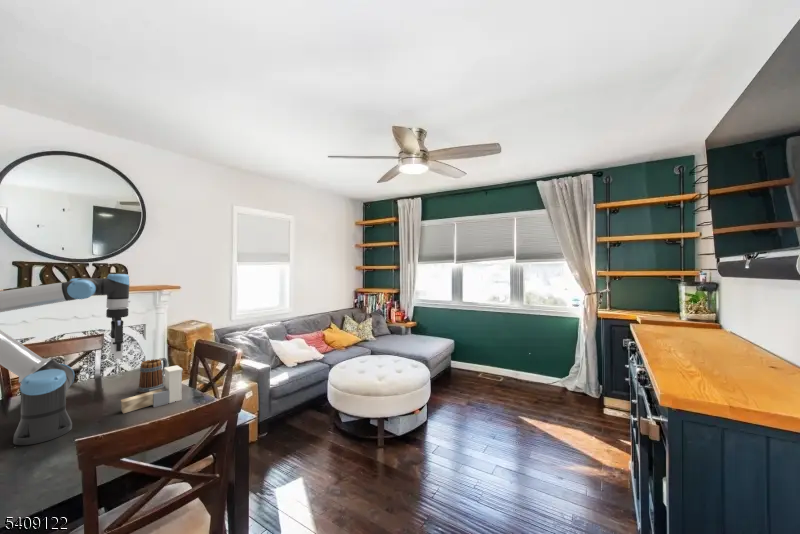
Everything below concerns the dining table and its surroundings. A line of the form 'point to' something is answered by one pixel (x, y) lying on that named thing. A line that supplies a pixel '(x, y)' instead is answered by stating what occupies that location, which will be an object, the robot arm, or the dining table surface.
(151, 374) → the mug
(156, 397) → the u-notched block
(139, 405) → the rail
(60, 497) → the dining table surface
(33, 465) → the dining table surface
